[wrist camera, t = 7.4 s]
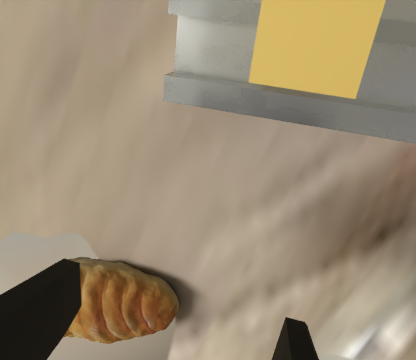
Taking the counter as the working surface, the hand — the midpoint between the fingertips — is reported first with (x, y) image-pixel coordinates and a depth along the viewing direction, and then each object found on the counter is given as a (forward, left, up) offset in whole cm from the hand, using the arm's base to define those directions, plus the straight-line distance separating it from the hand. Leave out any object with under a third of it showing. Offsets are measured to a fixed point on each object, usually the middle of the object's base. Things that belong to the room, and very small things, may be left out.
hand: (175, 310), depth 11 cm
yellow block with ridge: (-3, -10, -9) cm, 13 cm away
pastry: (+7, +11, -10) cm, 17 cm away
